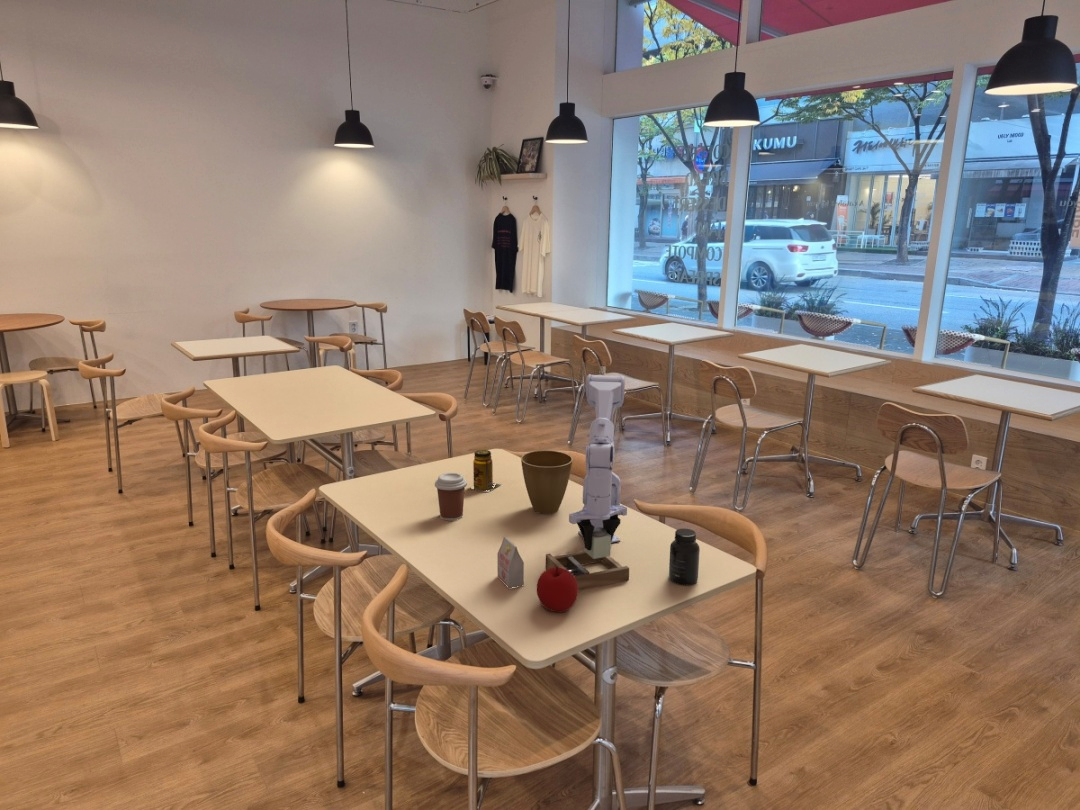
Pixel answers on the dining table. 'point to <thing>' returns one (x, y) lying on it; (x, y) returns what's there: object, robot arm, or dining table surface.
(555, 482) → the plant pot
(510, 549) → the milk carton
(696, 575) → the supplement bottle
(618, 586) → the dining table surface
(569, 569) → the pusher plate
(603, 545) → the jar
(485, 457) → the condiment
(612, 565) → the brown wooden shallow box
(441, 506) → the coffee cup
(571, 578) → the apple
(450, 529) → the dining table surface
